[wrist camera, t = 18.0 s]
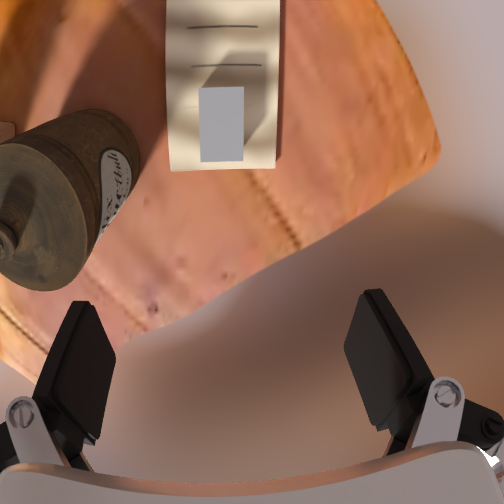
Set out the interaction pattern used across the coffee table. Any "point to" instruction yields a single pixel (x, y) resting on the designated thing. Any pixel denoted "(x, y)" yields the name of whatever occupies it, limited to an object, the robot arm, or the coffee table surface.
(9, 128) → the wooden block
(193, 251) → the coffee table surface
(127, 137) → the wooden container
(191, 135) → the board
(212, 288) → the coffee table surface
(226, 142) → the block
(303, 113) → the coffee table surface
